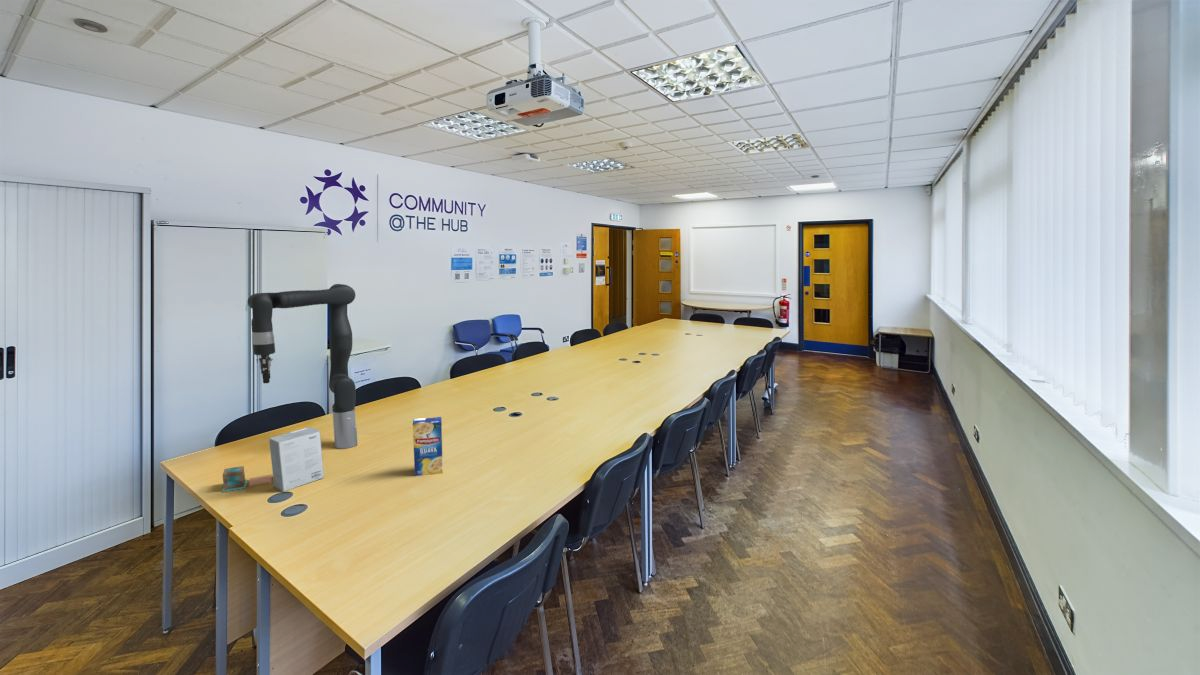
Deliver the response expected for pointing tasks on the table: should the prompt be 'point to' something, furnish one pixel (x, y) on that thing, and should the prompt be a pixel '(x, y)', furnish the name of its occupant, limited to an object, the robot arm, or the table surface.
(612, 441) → the table surface
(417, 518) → the table surface
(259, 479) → the pad terracotta
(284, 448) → the hard drive box
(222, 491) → the pad teal
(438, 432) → the blue food box
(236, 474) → the cube
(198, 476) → the table surface
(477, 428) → the table surface
